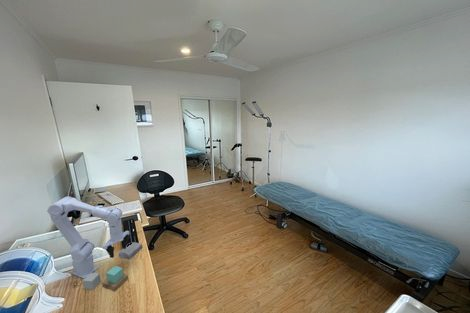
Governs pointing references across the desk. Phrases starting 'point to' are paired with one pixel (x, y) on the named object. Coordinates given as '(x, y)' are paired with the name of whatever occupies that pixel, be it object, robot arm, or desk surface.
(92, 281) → the grey cube
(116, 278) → the teal cube
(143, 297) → the desk surface
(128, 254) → the stone block
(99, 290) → the desk surface
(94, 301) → the desk surface
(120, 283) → the walnut base block
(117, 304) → the desk surface
